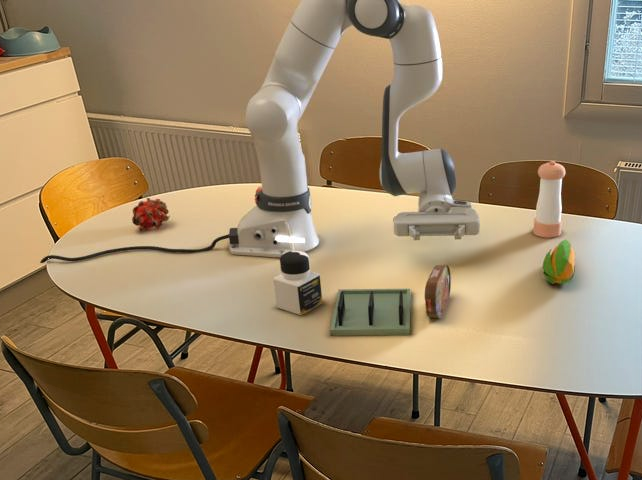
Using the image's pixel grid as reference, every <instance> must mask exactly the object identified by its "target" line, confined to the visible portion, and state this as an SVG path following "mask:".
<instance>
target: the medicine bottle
mask: <svg viewBox="0 0 642 480" xmlns="http://www.w3.org/2000/svg"><path fill="white" fill-rule="evenodd" d="M279 263H280V264H279V265H280V272H281V273H280V274H279V275H277V276H274V277H273V279H272V281H273V288H274V296H275V304H276V308H277V309H280V310H283V311H287V312H289V313H293V314H295V315H299V316H303V315H305V314H306V313H308V312H310V311H311V310H313V309H315V308H317V307H318V306H320V305H321V304H323V293H322V283H321V275H320V273H318V272H315V271H311V263H310V256H309V254H308V253H306V251H305V252H301V251H290V252H287V253H284V254H283V255H282V256H281V257H280V258H279Z"/></svg>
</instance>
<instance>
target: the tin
mask: <svg viewBox="0 0 642 480" xmlns="http://www.w3.org/2000/svg"><path fill="white" fill-rule="evenodd" d="M450 270H451V269H450V266H449V265H448V264H436V265H435V266H434V267H433V269H432V271H431V273H430V274H429V277H428V278H427V280H426V283H425V288H424V302H425V314H426V316H427V317H428V318H438V319H441V318H442V316H443V314H444V312H445V310H446V307H447V305H448V303H449V301H450V295H451V289H452V288H451V287H452V286H451V285H452V282H451V279H452V278H451V271H450Z"/></svg>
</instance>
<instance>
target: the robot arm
mask: <svg viewBox="0 0 642 480" xmlns="http://www.w3.org/2000/svg"><path fill="white" fill-rule="evenodd" d="M352 26H353V27H354V28H355V29H356V30H357V31H358V32H360V33H362V34H364V35H367V36H370V37H374V38H375V37H377V38H381V39H387V40H389V42H390V47H391V52H392V60H393V68H394V69H393V76H392V80H391V82H390V84H388V85H387V86H386V87H385V89H384V92H383V98H382V113H381V114H382V117H381V157H380V163H379V164H380V165H379V170H378V177H379V182H380V183H379V184H380V185H381V188H382V189H383V190H384V191H385V192H386V193H388V195H391V196H393V197H399V196H403V195H407V194H413V193H419V196H418V201H417V202H418V204H417V205H418V208H417V211H404V212H403V211H402V212H399V213H397V214H396V216H393V218H392V222H393V234H394V236H396V237H399V238H401V237H410V238H412V239H413V241H420V240H421V237H443V236H445V237H446V236H451V237H452V236H454V240H462V237H464V236H477V235H479V234H480V230H481V229H480V228H481V223H480V217H479V215H478V212H477V211H476V209H474V208H473V205H472V204H473V203H471V202H469V201H464V200H457V199H454V198H453V194H454V192H455V191H456V188H457V178H456V171H455V169H456V168H455V164H454V161H453V158H452V156H451V155H450V154H449V153H448V152H447V151H446V150H445V149H443V148H438V149H437V148H436V149H425V150H424V149H423V150H420V151H413V152H404V153H403V152H399V124H400V123H399V122H400V120H401V118H402V116H403V115H404V114H405V113H406V112H407V111H409V110H411V109H412V108H413V107H416V106H418V105H419V104H421V103H423V102H425V101H427V100H428V99H429V98H431V97H432V96H433V95H434V94H435V93H436V92H437V91H438V89H439V88H440V86H441V84H442V82H443V73H444V72H443V70H444V69H443V67H444V66H443V56H442V49H441V41H440V37H439V33H438V28H437V24H436V21H435V18H434V15H433V13H432V12H431V10H429V9H428V8H427V7H424V6H421V5H418V4H417V5H416V4H412V5H411V4H410V5H406V4H403V3H402V2H401V1H400V0H301V1H300V2H299V4H298V6H297V7H296V9H295V11H294V13H293V15H292V17H291V19H290V21H289V23H288V25H287V27H286V29H285V31H284V33H283V35H282V37H281V40H280V42H279V43H278V46H277V48H276V50H275V52H274V55H273V59H272V62H271V64H270V67H269V69H268V71H267V74H266V76H265V78H264V81H263V83H262V85H261V87H260V88H259V89H258V91H257V92H256V93H255V94H254V95H253V96H252V97H251V98H250V99H249V101H248V102H247V105H246V109H245V124H246V127H247V129H248V131H249V133H250V137H251V141H252V144H253V147H254V150H255V154H256V158H257V162H258V169H259V176H260V184H261V186H258V187H257V188H256V190H255V194H254V204H255V206H254V207H253V208H251V209H250V210H249V211H248V212H247V213H246V214H245V215H243V216H242V217H241V218H240V220H239V221H238V224H237V227H230V228H229V232H228V234H224V235H222V236H218V237H217V238H215V239H214V240H212V242H211V244H210V245H209V246H207V247H204V248H197V249H195V248H193V249H187V248H167V247H162V246H155V245H138V246H137V245H136V246H135V245H134V246H128V247H127V246H125V247H118V248H111V249H106V250H101V251H99V252H94V253H91V254H88V255H84V256H77V257H66V256H62V255H56V254H55V255H54V254H51V255H50V254H49V255H46V256H44V257H43V258H42V259H41V260H40V261H39V263H40V264H45V263H46V262H47V261H48V260H58V261H65V262H79V261H81V262H82V261H85V260H90V259H93V258H97V257H101V256H104V255H108V254H113V253H119V252H126V251H139V250H142V251H143V250H146V251H147V250H150V251H160V252H165V253H178V254H179V253H183V254H185V253H186V254H194V253H195V254H196V253H202V252H208V251H211V250H213V249H214V248H215V246H216V244H217V243H219V242H220V241H224V240H226V239H228V241H229V244H228V246H229V247H228V248H229V252H230V253H231V254H232V255H239V256H250V257H251V256H252V257H266V258H279V259H280V257H281V256H282V255H283V254H284V253H287V252H290V251H301V252H305V253H306V252H308V251H311V250H312V249H315V248H316V247H317V246H318V245H319V244H320V238H319V236H318V234H317V230H316V228H315V224H314V220H313V216H312V208H313V205H312V195H311V190H310V187H309V186H308V178H307V170H306V169H307V167H306V157H305V154H304V153H303V150H302V144H301V141H300V135H299V130H298V124H299V121H300V120H301V118H302V116H303V114H304V112H305V110H306V108H307V107H308V104H309V102H310V100H311V99H312V96H313V94H314V92H315V90H316V88H317V85H318V83H319V81H320V80H321V78H322V76H323V74H324V71H325V69H326V67H328V66H327V65H328V63H329V61H330V60H331V58H332V56H333V54H334V52H335V50H336V48H337V46H338V44H339V42H340V40H341V38H342V36H343V35H344V33H345V32H346V30H347V29H349V28H350V27H352ZM48 258H49V259H48Z"/></svg>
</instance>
